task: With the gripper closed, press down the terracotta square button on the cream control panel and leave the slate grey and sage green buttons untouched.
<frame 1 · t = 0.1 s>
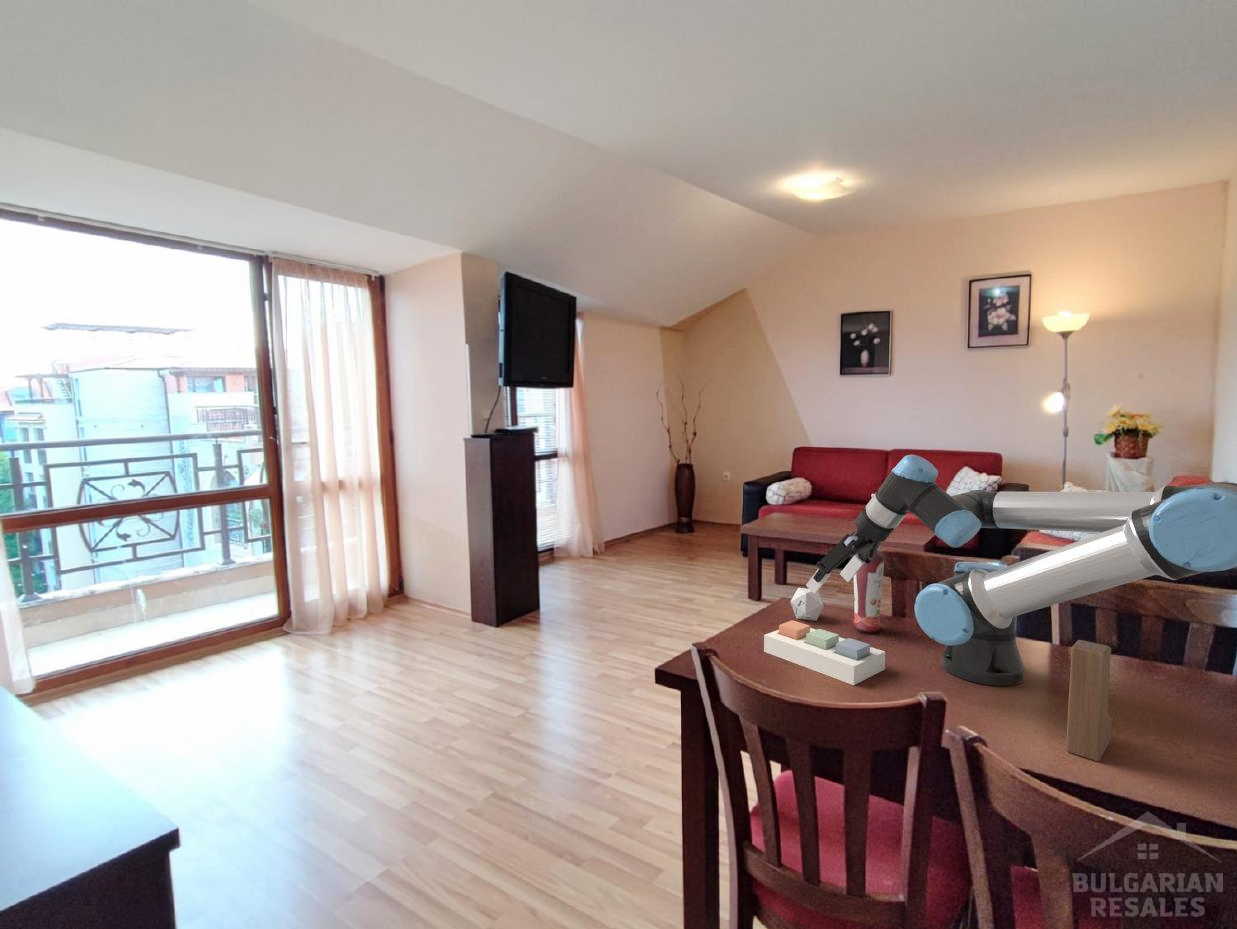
hand: (828, 583, 148), 15 cm above the table, tool tilted 35°, fingers open, 13 cm apart
terracotta button: (794, 631, 147), point 4 cm above the table, slide at 0.0 cm
die: (807, 618, 169), on the table
liquor: (866, 630, 160), on the table
control panel: (822, 660, 142), on the table
slate button: (852, 650, 135), point 4 cm above the table, slide at 0.0 cm
sage button: (822, 640, 141), point 4 cm above the table, slide at 0.0 cm
wooden block: (1088, 748, 105), on the table
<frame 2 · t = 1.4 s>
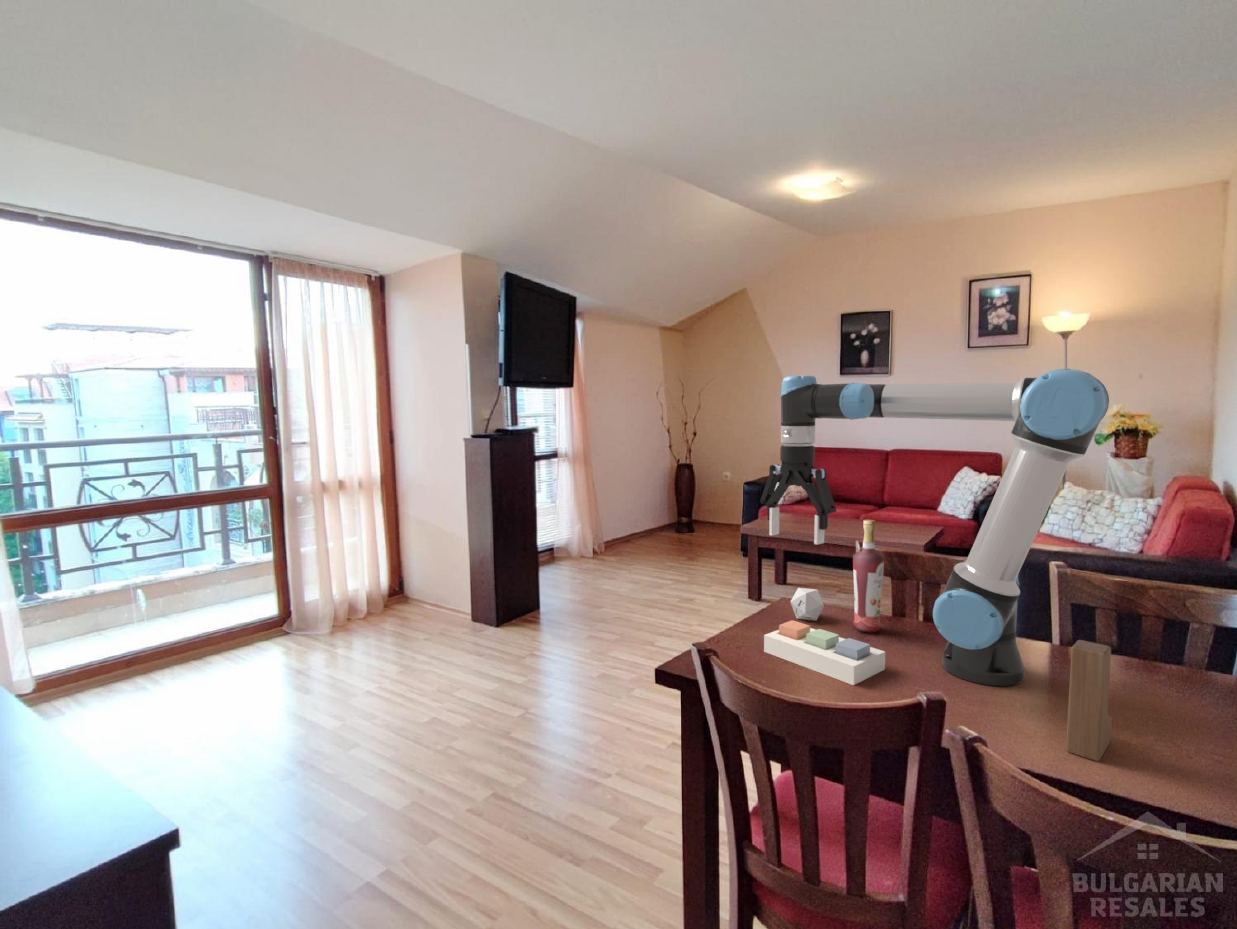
hand: (795, 539, 145), 26 cm above the table, tool pointing down, fingers open, 12 cm apart
nothing on the table moved.
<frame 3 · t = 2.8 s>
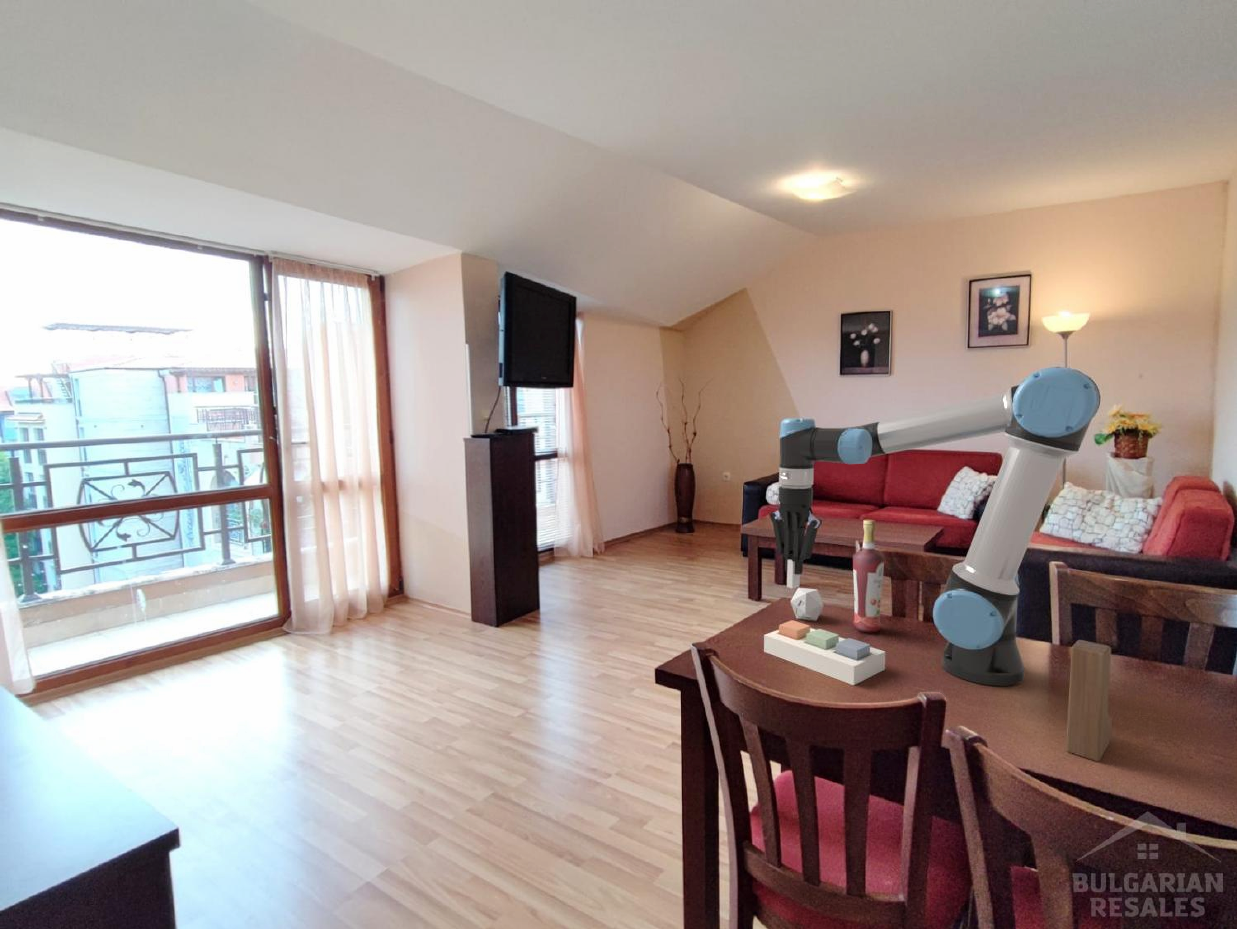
hand: (793, 586, 146), 15 cm above the table, tool pointing down, fingers closed
nothing on the table moved.
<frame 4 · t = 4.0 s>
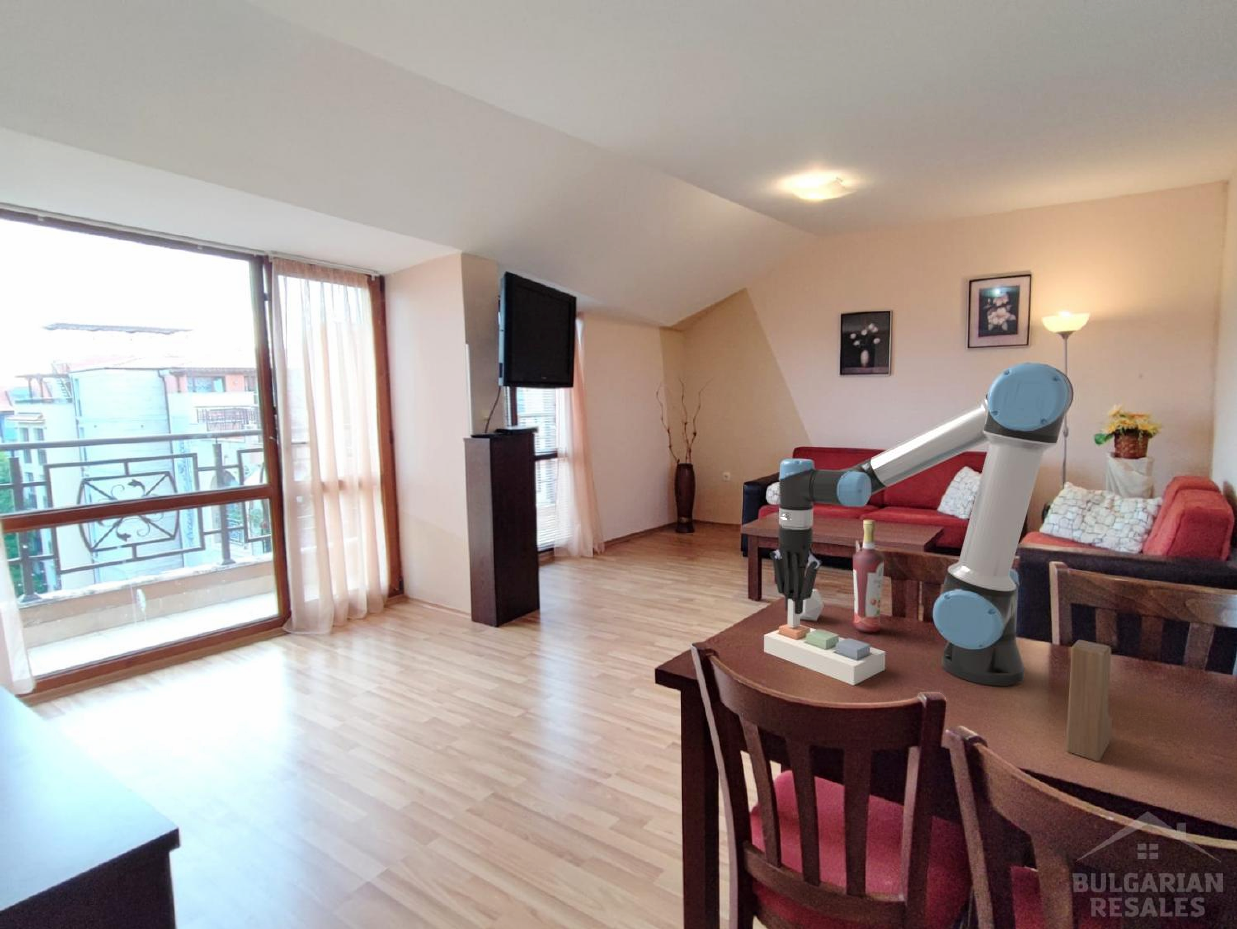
hand: (793, 625, 147), 6 cm above the table, tool pointing down, fingers closed
terracotta button: (794, 633, 147), point 4 cm above the table, slide at 0.4 cm, touching gripper
everything else where it was.
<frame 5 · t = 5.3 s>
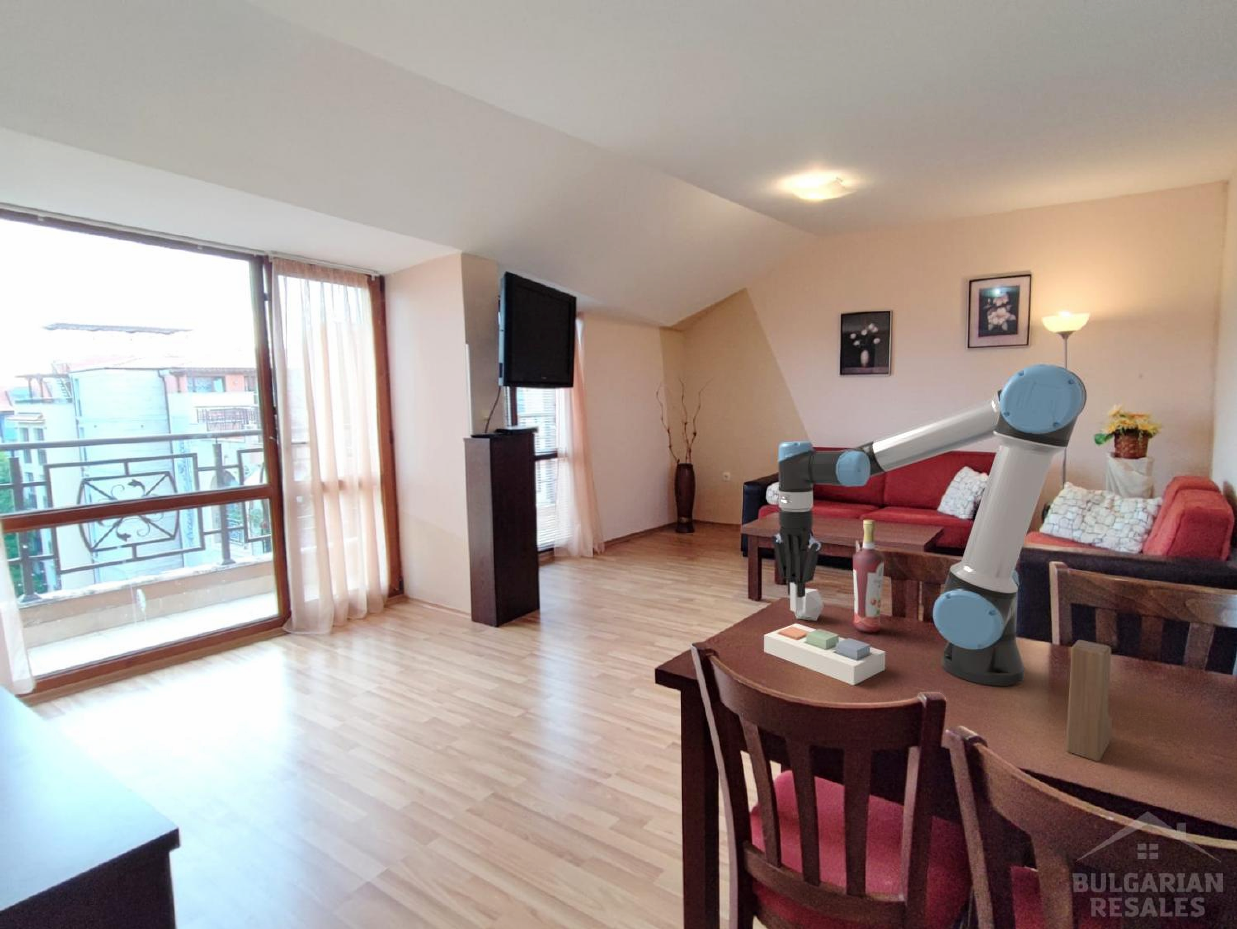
hand: (796, 609, 146), 10 cm above the table, tool pointing down, fingers closed
terracotta button: (794, 637, 147), point 3 cm above the table, slide at 1.5 cm
everything else where it was.
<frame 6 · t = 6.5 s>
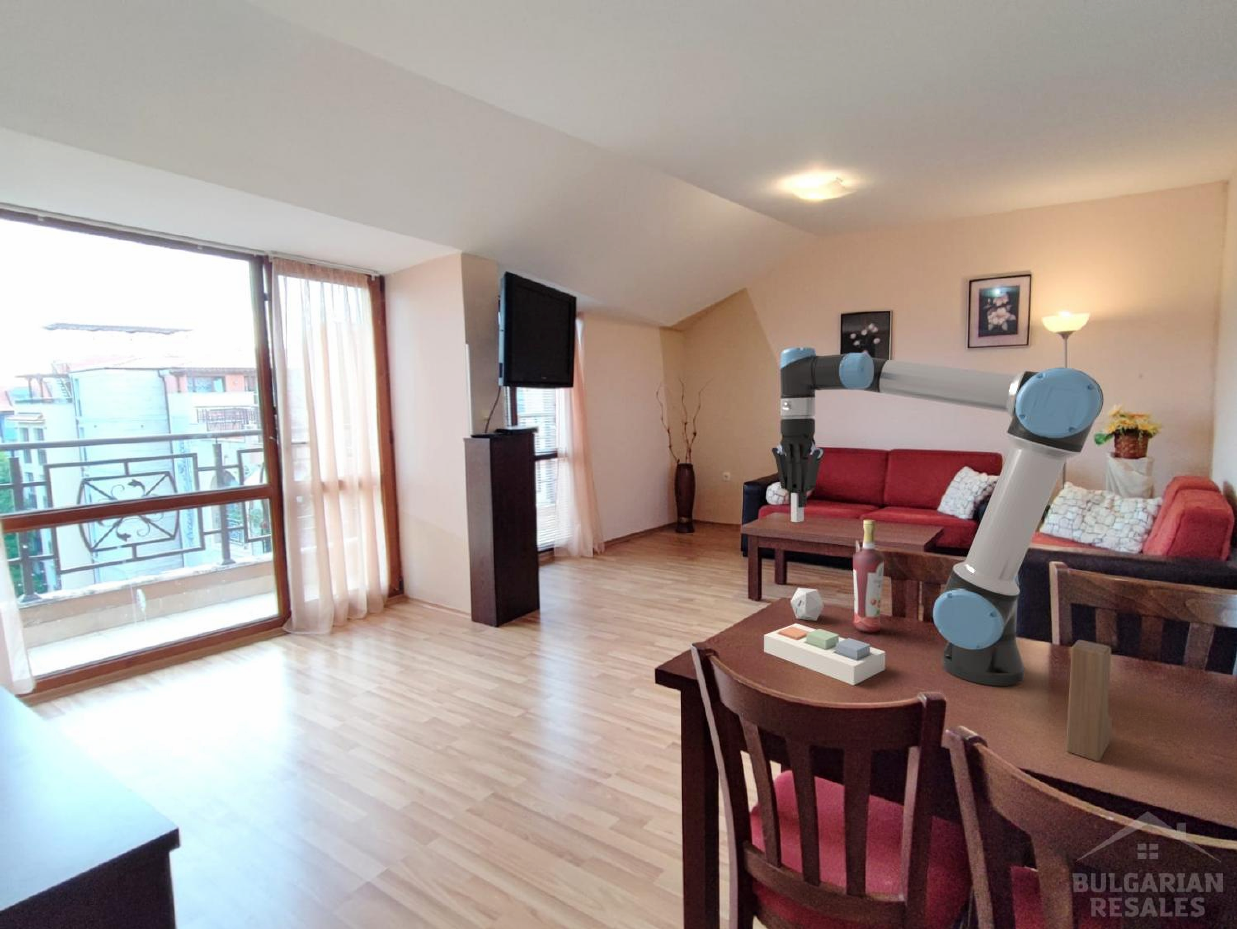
hand: (797, 520, 144), 31 cm above the table, tool pointing down, fingers closed
nothing on the table moved.
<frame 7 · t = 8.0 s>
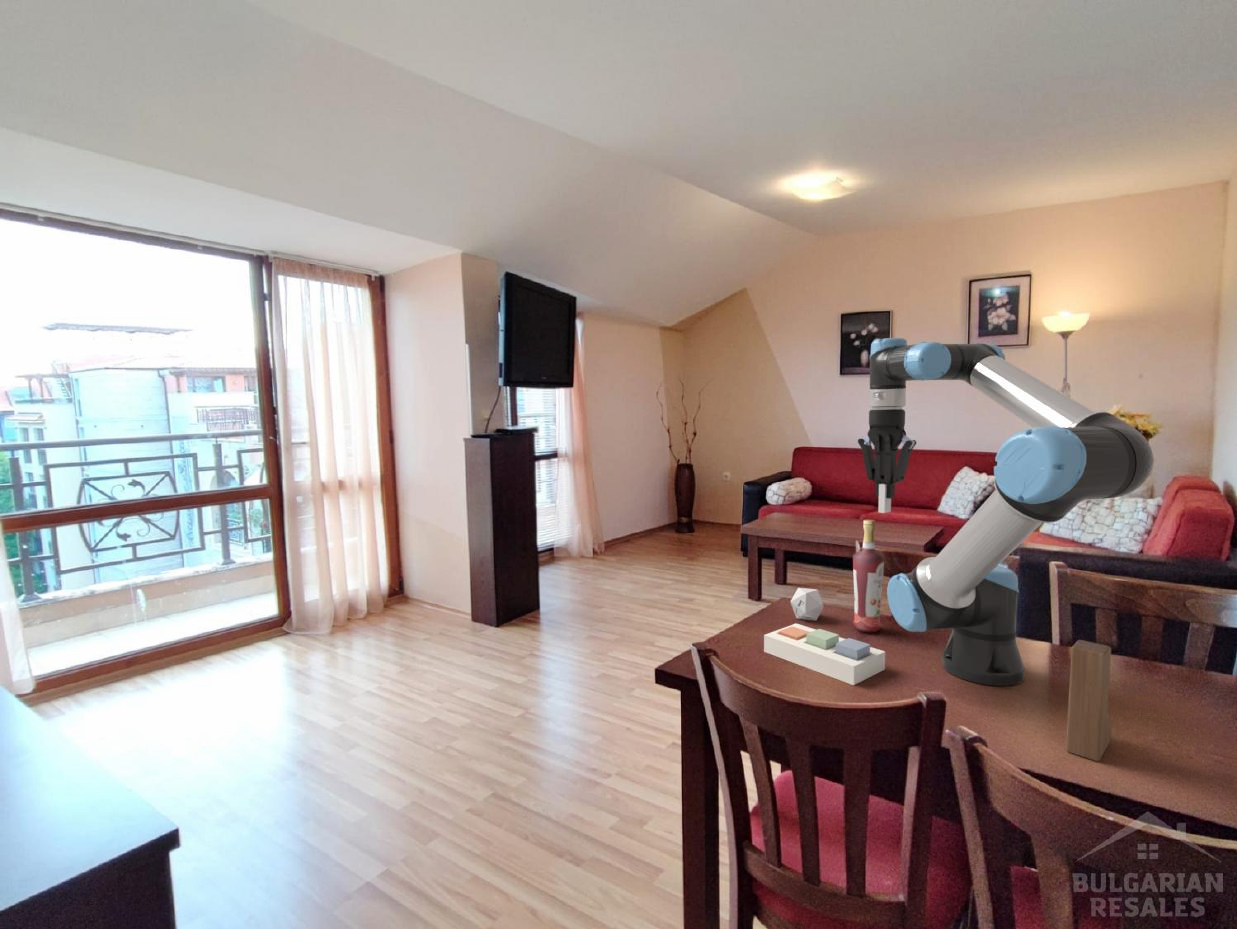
hand: (884, 512, 144), 32 cm above the table, tool pointing down, fingers closed
nothing on the table moved.
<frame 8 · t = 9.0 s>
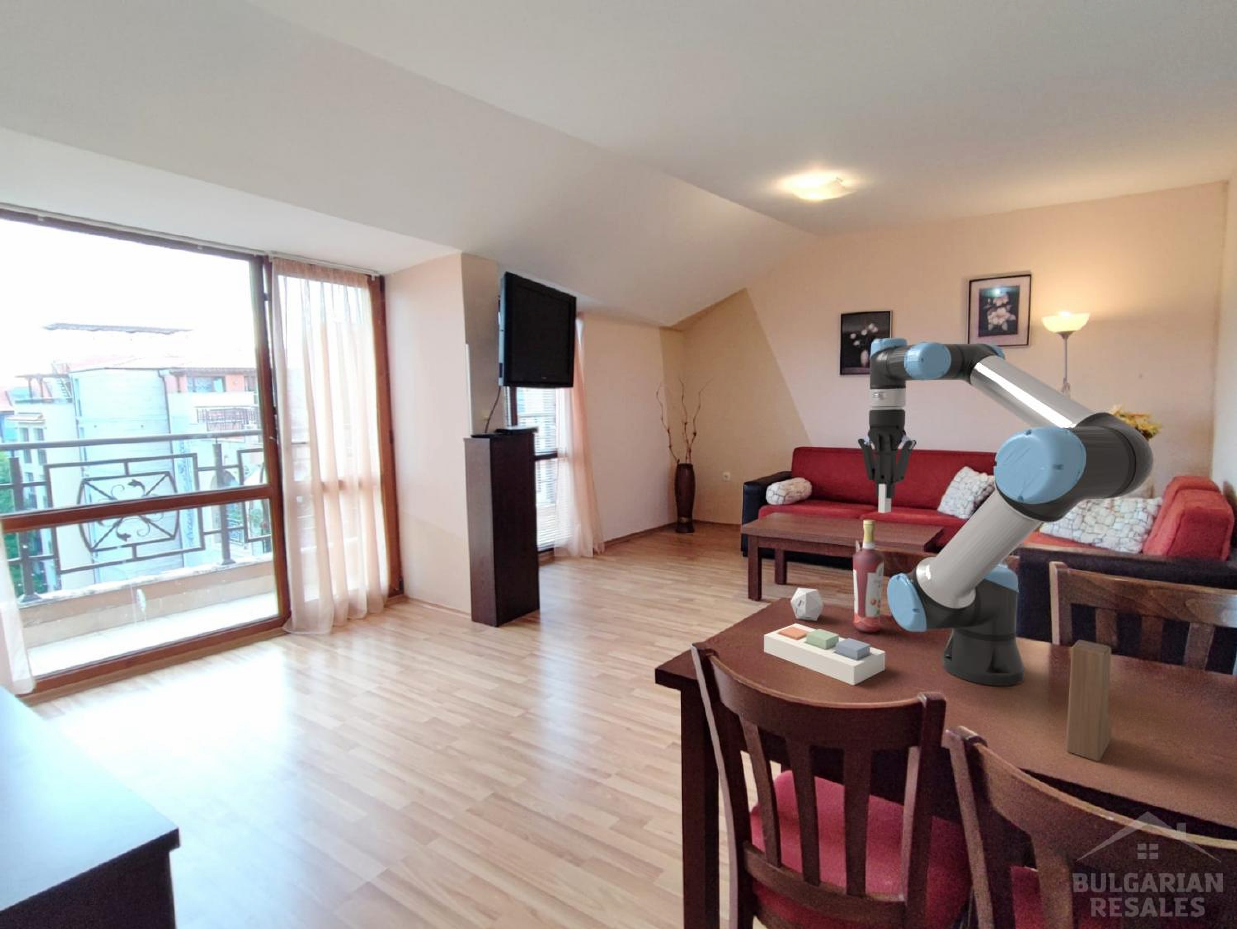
hand: (884, 512, 144), 32 cm above the table, tool pointing down, fingers closed
nothing on the table moved.
at the end: terracotta button slide at 1.5 cm; slate button slide at 0.0 cm; sage button slide at 0.0 cm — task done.
